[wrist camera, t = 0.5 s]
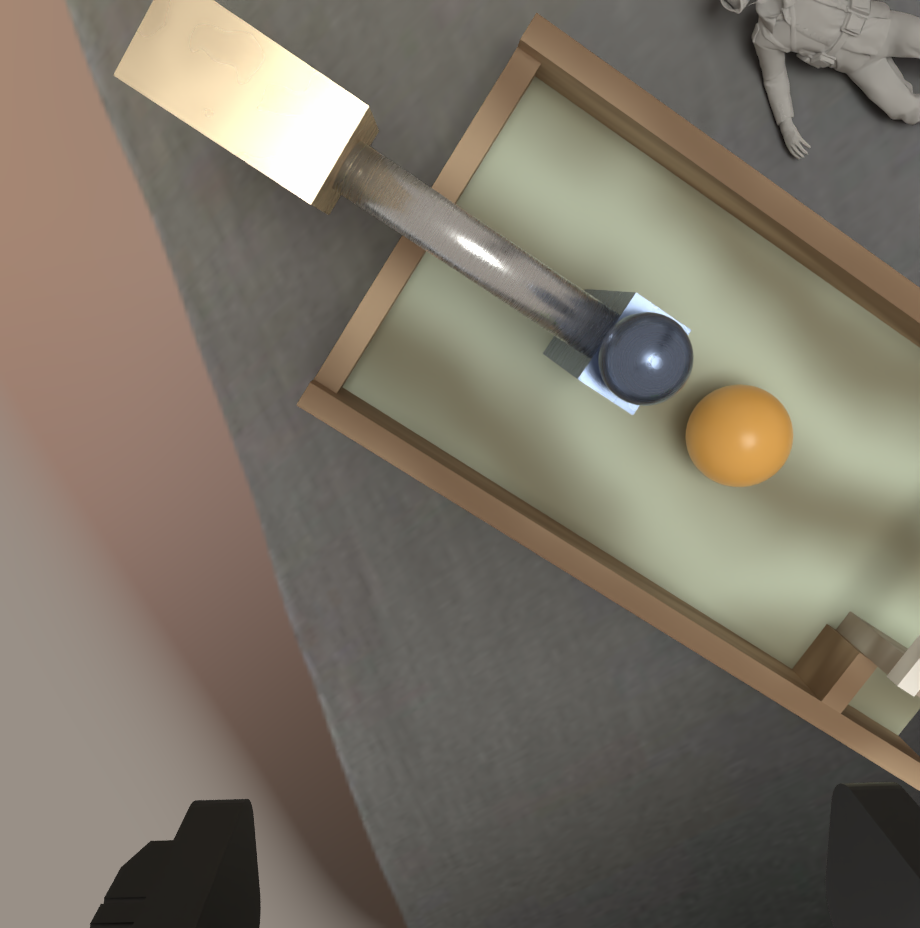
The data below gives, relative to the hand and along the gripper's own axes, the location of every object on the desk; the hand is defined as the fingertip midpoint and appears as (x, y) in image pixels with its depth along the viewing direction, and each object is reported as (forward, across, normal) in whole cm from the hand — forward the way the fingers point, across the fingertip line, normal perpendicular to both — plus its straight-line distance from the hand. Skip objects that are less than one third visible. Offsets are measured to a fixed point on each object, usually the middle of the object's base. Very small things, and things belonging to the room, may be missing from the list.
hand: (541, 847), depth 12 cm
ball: (+23, -10, -1) cm, 25 cm away
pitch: (+26, -10, -1) cm, 28 cm away
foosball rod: (+24, +2, -9) cm, 26 cm away
